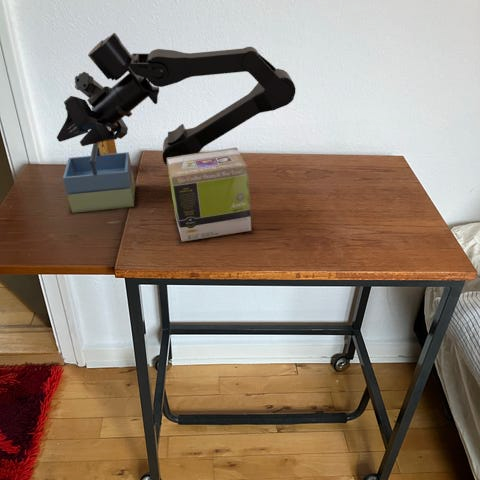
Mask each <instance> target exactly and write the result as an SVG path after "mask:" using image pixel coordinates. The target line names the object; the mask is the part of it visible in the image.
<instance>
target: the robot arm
mask: <svg viewBox="0 0 480 480" xmlns="http://www.w3.org/2000/svg"><path fill="white" fill-rule="evenodd" d="M87 57H89V59H90V60H91V61H92V63H94V65H95V66H96V67H97V68H98V69H99V71H100V72H101V73H102V74H103V75H104V76H105V78H107V80H112V81H118V80H119V79H120V80H119V81H118V82H117V83H116V84H114V85H113V86H112V87H110V86H105V85H104V86H103V85H101V84H100V83H99V82H97V81H96V80H95V79H94V77H93V76H92V75H90V74H89V73H88V72H86V71H83V72H81V73H79V74H78V75H75V77H74V84H75V85H74V88H75V89H76V90H77V91H80V92H81V93H82V94H83V95H85V96H87V98H88V99H87V100H86V99H83V98H81V97H77V96H73V95H70V96H69V97H68V98H67V99H66V100H64V101H63V104H64V106H65V107H64V109H65V111H66V118H65V121H64V123H63V125H62V127H61V129H60V130H59V132H58V133H57V136H56V139H57V141H58V142H59V143H60V142H65V141H68V140H71V139H73V138H76V137H80V136H83V135H84V136H83V137H82V138H81V139H80V141H79V144H80V146H81V147H87V146H91V145H93V144H95V143H99V142H104V141H109V140H115V141H116V140H118V139H123V138H124V137H125V136H127V135H128V131H129V127H128V126H127V124H126V123H125V120H124V119H123V118H124V117H128V118H129V117H131V116H132V115H133V113H132V111H133V110H134V109H135V108H136V107H138V106H140V104H141V103H142V102H144V101H145V100H147V98H149V99H150V101H152V103H153V104H154V105H157V104H158V101H159V93H160V88H163V87H164V88H165V87H168V86H171V85H174V84H177V83H179V82H182V81H184V80H186V79H189V78H193V77H203V76H214V75H224V74H235V73H248V74H250V75H251V77H253V79H254V80H255V81H256V82H257V83H256V85H255V86H254V87H253V88H252V90H251V91H250V92H249V93H247V94H246V95H245V96H243V97H241V98H240V99H238V100H236V101H235V102H233V103H232V104H230V105H228V106H226V107H225V108H223V109H222V110H220V111H219V112H217V113H215V114H214V115H212V116H210V117H209V118H208V119H206V120H204V121H203V122H201V123H200V124H198V125H196V126H195V127H189V128H186V127H185V125H184V124H183V123H181V124H179V126H177V128H176V129H174V130H171V131H168V132H167V136H166V137H165V139H164V140H163V144H162V161H163V163H164V164H165V165H166V166H167V158H168V157H176V156H182V155H189V154H195V153H201V151H202V150H203V149H204V148H205V147H206V146H208V145H209V144H211V143H213V142H214V141H216V140H217V139H219V138H221V137H222V136H224V135H225V134H227V133H229V132H230V131H232V130H234V129H235V128H237V127H238V126H240V125H243V124H244V123H245V122H247V121H249V120H250V119H252V118H254V117H255V116H257V115H259V114H261V113H267V112H272V111H273V112H274V111H275V110H278V109H281V108H284V107H286V106H288V105H289V104H290V103H292V102H293V101H294V99H295V96H296V85H295V83H294V81H293V80H292V77H291V76H290V75H289V73H288V72H287V71H286V70H285V69H281V68H276V67H275V66H274V65H273V64H272V63H271V62H270V61H269V60H267V59H266V58H265V57H263V56H262V55H261V54H260V53H259V52H258V50H257V49H256V48H255V47H253V46H245V47H243V48H234V49H221V50H212V51H202V52H201V51H200V52H190V53H189V52H182V51H178V50H174V49H164V48H156V49H153V50H151V51H150V52H149V53H135V52H134V53H130V51H129V50H128V49H127V47H125V45H124V44H123V43H122V40H121V39H120V38H119V36H118V34H117V33H116V32H113V33H112V34H111V35H108V36H107V37H106V38H105V39H102V40H101V41H99V42H98V43H97V44H96V45H95V46H94V47H93V48H92V49H91V50H90V51H89V52H88V54H87ZM127 72H128V73H127ZM126 73H127V74H126ZM125 74H126V75H125ZM124 75H125V76H124ZM121 78H122V79H121ZM90 106H91V107H90Z"/></svg>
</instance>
